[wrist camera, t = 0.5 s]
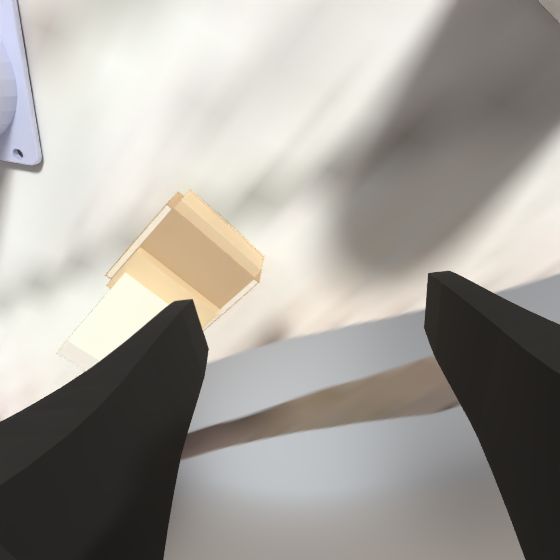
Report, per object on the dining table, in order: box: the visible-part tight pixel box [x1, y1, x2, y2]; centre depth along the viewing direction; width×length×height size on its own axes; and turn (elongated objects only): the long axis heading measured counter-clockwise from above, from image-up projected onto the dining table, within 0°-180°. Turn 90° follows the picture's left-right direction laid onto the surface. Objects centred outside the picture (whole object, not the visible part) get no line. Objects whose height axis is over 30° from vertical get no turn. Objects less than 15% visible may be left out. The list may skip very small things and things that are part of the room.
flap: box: [56, 247, 219, 371], centre depth 18 cm, size 3×6×6 cm, turn 45°
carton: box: [105, 190, 264, 331], centre depth 21 cm, size 7×6×2 cm
